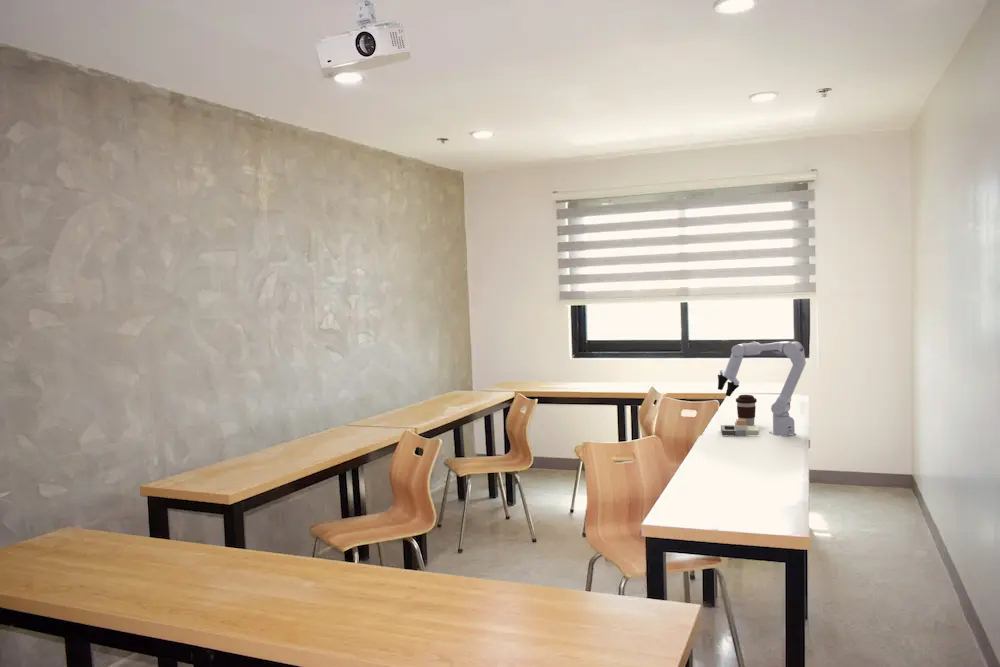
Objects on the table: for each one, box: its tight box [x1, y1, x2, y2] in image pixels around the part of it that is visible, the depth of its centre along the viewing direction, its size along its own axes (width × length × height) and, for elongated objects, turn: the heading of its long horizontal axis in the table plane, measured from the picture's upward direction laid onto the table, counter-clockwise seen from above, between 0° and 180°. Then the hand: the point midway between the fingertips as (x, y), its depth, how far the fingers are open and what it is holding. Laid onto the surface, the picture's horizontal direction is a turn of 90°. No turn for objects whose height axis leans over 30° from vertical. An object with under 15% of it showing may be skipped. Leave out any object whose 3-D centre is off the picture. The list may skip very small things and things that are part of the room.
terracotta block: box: [735, 418, 746, 425], centre depth 352 cm, size 4×5×4 cm
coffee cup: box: [735, 394, 758, 426], centre depth 370 cm, size 10×10×15 cm
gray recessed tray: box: [720, 424, 747, 437], centre depth 353 cm, size 10×13×2 cm
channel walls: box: [734, 421, 747, 430], centre depth 352 cm, size 5×9×2 cm, turn 166°
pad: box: [745, 425, 760, 435], centre depth 351 cm, size 6×11×2 cm, turn 166°
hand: (723, 392), depth 363 cm, fingers open, 7 cm apart
